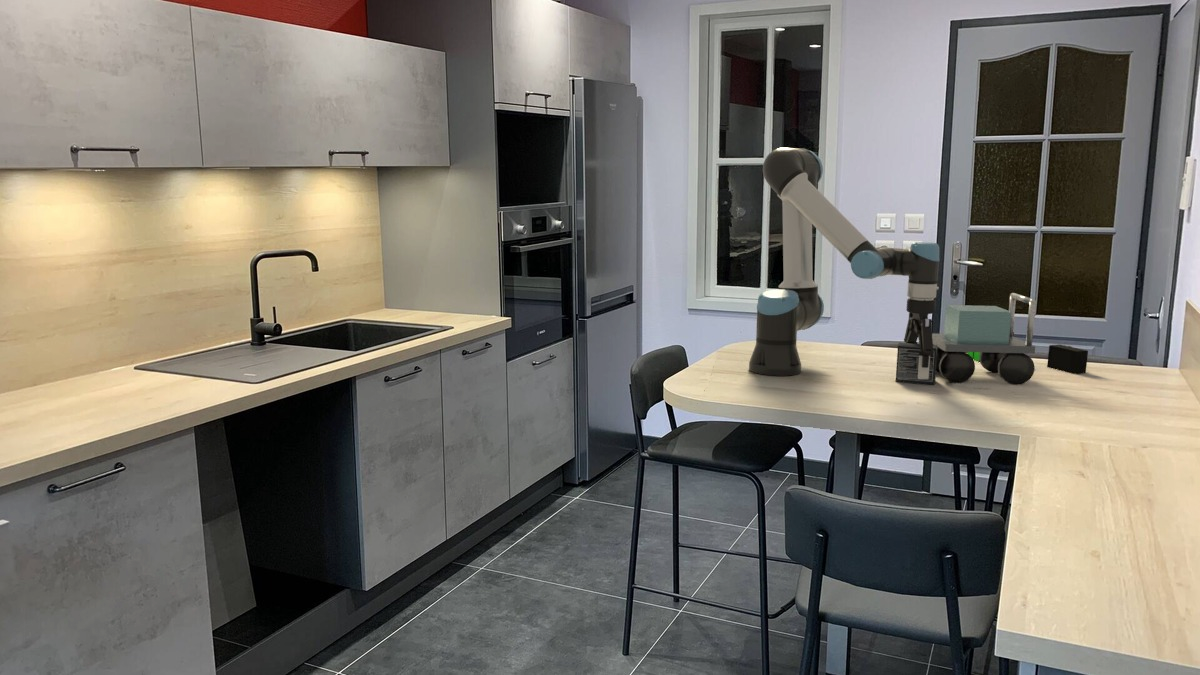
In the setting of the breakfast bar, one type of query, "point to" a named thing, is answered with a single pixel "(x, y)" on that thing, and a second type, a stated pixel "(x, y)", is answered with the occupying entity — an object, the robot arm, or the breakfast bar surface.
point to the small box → (913, 364)
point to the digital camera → (1067, 359)
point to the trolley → (985, 342)
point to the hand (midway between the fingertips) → (916, 373)
